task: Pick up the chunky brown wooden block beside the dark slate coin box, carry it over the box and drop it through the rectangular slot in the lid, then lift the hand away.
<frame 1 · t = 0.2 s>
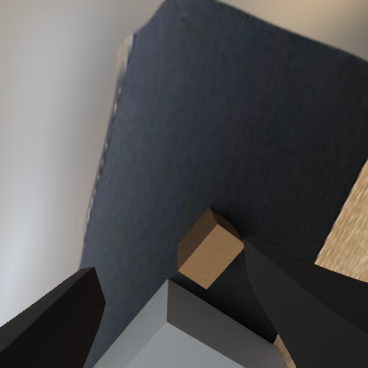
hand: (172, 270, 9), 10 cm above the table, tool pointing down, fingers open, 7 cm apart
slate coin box: (187, 356, 23), on the table
brown wooden block: (204, 234, 20), on the table
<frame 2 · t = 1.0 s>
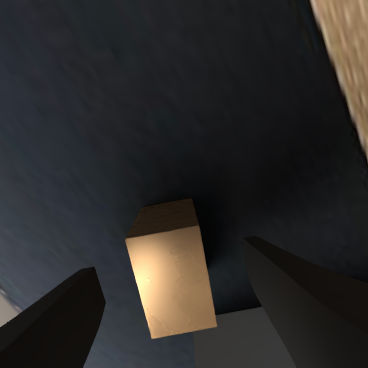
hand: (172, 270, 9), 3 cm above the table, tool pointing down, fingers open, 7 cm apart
brown wooden block: (174, 239, 12), on the table
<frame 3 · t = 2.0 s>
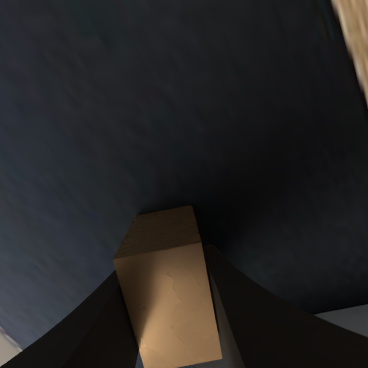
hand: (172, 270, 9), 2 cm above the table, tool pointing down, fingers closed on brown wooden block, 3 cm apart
brown wooden block: (173, 251, 11), on the table, touching gripper
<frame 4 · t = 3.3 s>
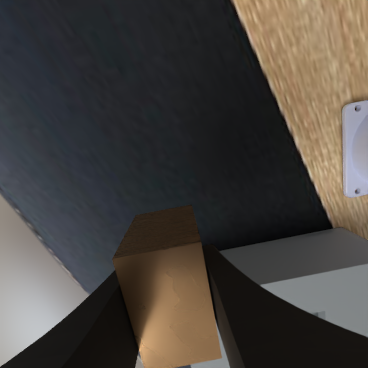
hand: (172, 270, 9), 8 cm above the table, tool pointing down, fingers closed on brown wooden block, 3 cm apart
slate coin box: (265, 304, 20), on the table
brown wooden block: (172, 251, 11), point 7 cm above the table, touching gripper
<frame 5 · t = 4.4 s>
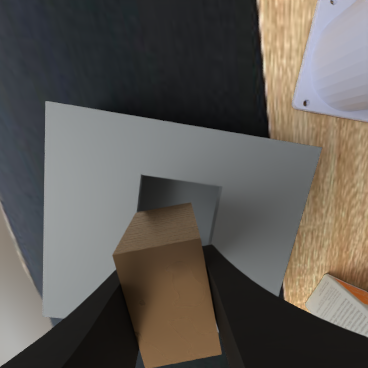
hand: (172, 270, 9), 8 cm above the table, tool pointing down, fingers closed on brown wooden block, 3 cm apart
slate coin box: (173, 210, 18), on the table
brown wooden block: (172, 249, 11), point 7 cm above the table, touching gripper
skincare box: (335, 296, 21), on the table
when the fingers open (8 cm above the table, at t = 5.0 s): brown wooden block drops 6 cm, resting on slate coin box.
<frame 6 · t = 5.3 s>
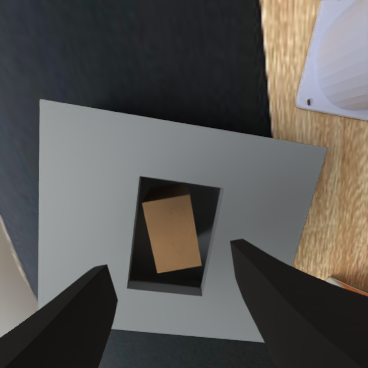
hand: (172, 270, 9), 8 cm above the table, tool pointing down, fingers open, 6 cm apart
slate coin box: (173, 212, 17), on the table
brown wooden block: (173, 213, 17), resting on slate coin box
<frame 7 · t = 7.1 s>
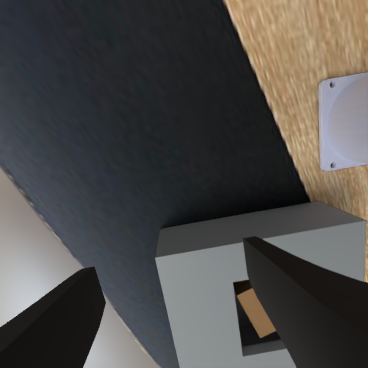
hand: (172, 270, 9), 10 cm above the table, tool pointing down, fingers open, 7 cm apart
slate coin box: (246, 275, 21), on the table
brown wooden block: (247, 278, 21), resting on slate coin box
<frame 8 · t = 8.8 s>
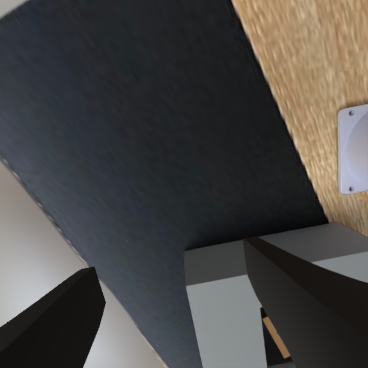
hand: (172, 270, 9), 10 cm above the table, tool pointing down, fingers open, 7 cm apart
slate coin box: (266, 294, 22), on the table
brown wooden block: (268, 296, 21), resting on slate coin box
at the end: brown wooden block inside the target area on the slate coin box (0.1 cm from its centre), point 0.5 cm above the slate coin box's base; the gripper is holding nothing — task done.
